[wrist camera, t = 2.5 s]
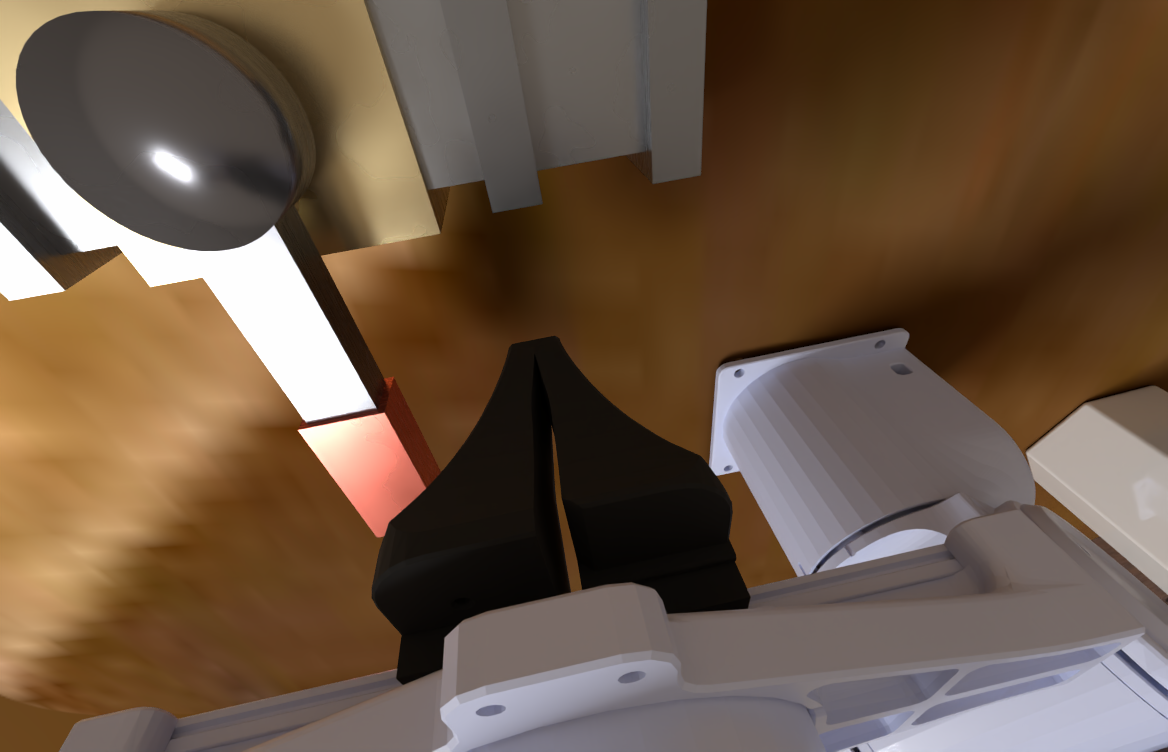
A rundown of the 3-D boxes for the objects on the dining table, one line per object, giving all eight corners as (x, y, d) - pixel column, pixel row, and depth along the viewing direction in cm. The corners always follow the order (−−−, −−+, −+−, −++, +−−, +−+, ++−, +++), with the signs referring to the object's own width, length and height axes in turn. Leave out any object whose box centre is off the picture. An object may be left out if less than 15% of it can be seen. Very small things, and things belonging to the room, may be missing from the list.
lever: (39, 28, 8) (-58, 32, 6) (253, -6, 8) (206, -7, 7) (366, 497, 16) (354, 543, 15) (468, 476, 16) (466, 519, 15)
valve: (635, -112, 12) (713, -176, 8) (644, 144, 16) (700, 191, 12) (-206, 13, 11) (-620, 16, 7) (23, 254, 15) (-154, 348, 11)
